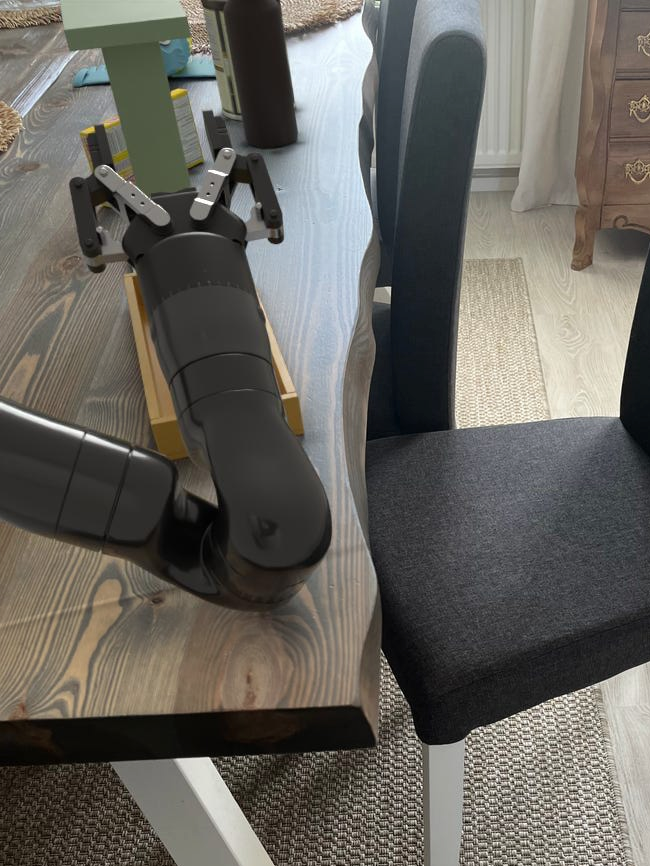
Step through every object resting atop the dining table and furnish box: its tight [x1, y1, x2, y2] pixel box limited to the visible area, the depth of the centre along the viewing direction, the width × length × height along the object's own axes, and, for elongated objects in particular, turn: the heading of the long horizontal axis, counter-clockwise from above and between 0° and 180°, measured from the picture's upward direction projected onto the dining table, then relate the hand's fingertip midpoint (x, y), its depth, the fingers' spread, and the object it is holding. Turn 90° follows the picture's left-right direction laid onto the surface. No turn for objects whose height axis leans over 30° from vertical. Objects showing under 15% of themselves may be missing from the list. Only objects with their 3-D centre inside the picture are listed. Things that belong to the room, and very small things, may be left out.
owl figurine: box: [72, 13, 216, 88], centre depth 147 cm, size 28×9×15 cm
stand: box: [58, 0, 192, 273], centre depth 96 cm, size 14×10×24 cm
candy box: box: [79, 88, 205, 209], centre depth 118 cm, size 16×2×8 cm, turn 150°
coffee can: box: [199, 0, 297, 122], centre depth 134 cm, size 10×10×14 cm
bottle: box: [223, 0, 299, 149], centre depth 124 cm, size 7×7×20 cm
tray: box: [122, 272, 305, 461], centre depth 89 cm, size 28×12×4 cm, turn 19°
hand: (155, 125), depth 72 cm, fingers open, 7 cm apart
